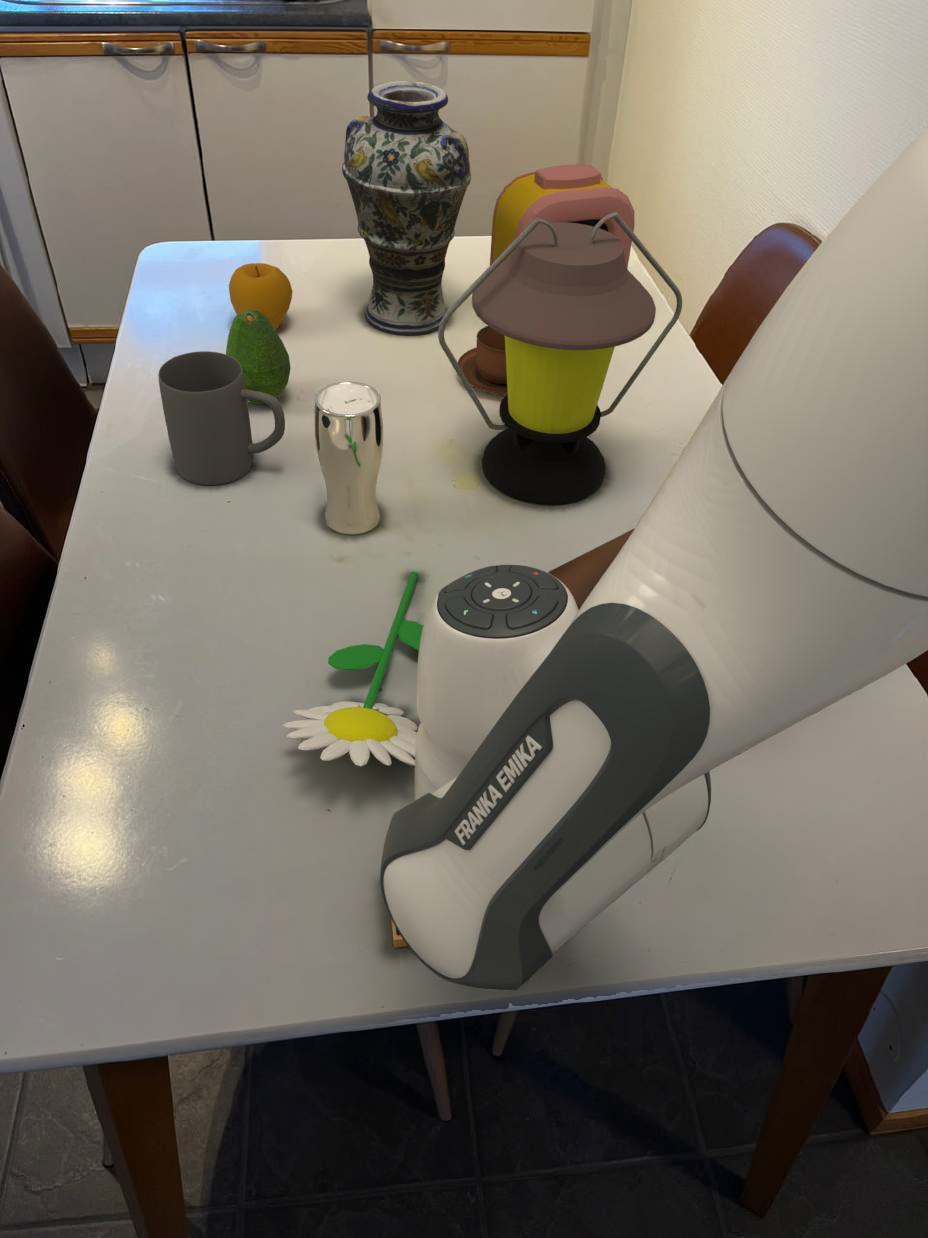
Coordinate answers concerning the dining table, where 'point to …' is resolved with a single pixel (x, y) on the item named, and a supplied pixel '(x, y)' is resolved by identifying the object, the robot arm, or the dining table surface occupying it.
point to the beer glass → (349, 454)
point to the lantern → (557, 352)
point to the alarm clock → (559, 204)
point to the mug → (212, 417)
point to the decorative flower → (364, 705)
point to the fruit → (259, 353)
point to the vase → (406, 201)
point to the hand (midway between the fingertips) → (472, 892)
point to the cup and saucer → (486, 362)
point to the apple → (261, 291)
